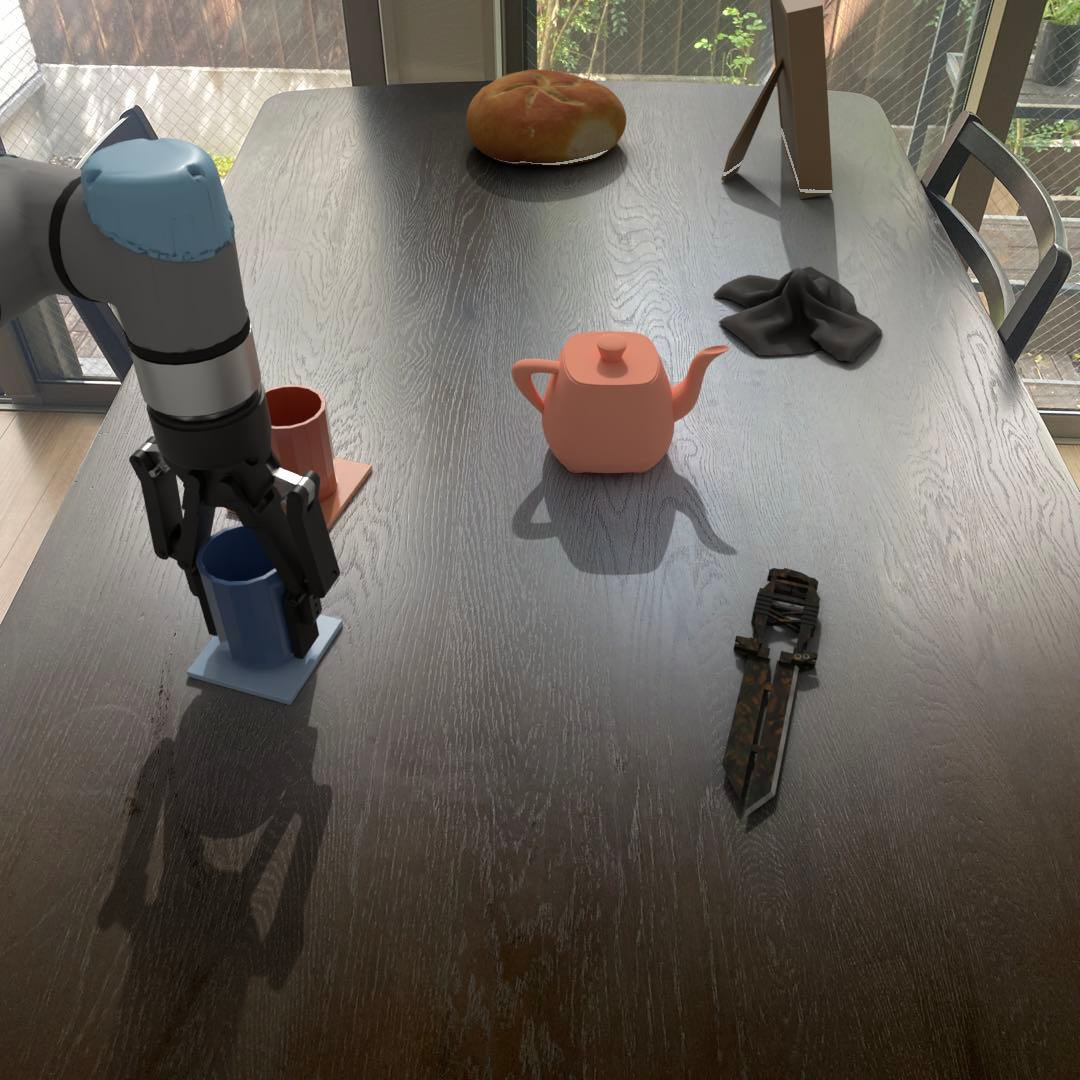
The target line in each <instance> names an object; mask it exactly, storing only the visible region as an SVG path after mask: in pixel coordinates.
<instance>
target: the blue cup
mask: <svg viewBox="0 0 1080 1080" xmlns="http://www.w3.org/2000/svg"><path fill="white" fill-rule="evenodd" d="M196 564H197V568H198V571H199V575H200V578H201V582H202V585H203V589H204V592H205V596H206V599H207V603H208V606H209V610H210V613H211V617H212V620H213V624H214V627H215V631H216V634H217V638H218V641H219V644H220V646H221V650H222V652H223V654H224V655H225V657H226V658H227V659H228V660H229V661H231V662H232V663H234V664H236V665H238V666H241V667H244V668H250V669H262V668H269V667H273V666H276V665H279V664H281V663H284V662H286V661H287V660H289V659H291V658H292V657H293V656H294V653H293V649H292V644H291V640H290V635H289V631H288V626H287V622H286V617H285V613H284V608H283V604H282V599H281V597H282V595H283V594H284V593H285V591H286V590H287V588H286V586H285V584H284V583H283V581H282V579H281V578H280V576H279V574H278V573H277V571H276V569H275V568H274V566H273V564H272V563H271V561H270V559H269V558H268V556H267V554H266V553H265V551H264V549H263V548H262V546H261V544H260V543H259V541H258V539H257V538H256V536H255V534H254V533H253V531H252V529H251V528H245V527H244V526H243V525H242V523H241V522H240V523H237V524H234V525H230V526H227V527H224V528H221V529H220V530H218V531H216V532H215V533H214V534H211V536H210V537H209V538H208V539H207V540H206V541H205V542H204V543H203V545H202V546H201V547H200V548H199V550H198V554H197V558H196Z"/></svg>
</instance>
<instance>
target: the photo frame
mask: <svg viewBox="0 0 1080 1080" xmlns="http://www.w3.org/2000/svg"><path fill="white" fill-rule="evenodd" d="M769 6H770V7H769V8H770V17H771V18H770V20H771V33H772V43H773V54H774V56H773V57H774V68H773V69H772V72H771V74H770V76H769V77H768V79H767V81H766V83H765V84H764V87H763V88H762V90H761V92H760V93H759V95H758V97H757V99H756V101H755V103H754V105H753V107H752V109H751V111H750V112H749V114H748V116H747V117H746V119H745V121H744V123H743V125H742V127H741V129H740V130H739V132H738V134H737V136H736V138H735V140H734V142H733V144H732V145H731V147H730V149H729V150H728V154H727V157H726V161H725V164H724V169H723V172H727V171H729V170H730V169H732V168H733V167H734V166H736V165H737V164H739V163H740V162H741V161H742V160H743V161H744V159H745V157H746V155H747V152H748V149H749V147H750V145H751V142H752V140H753V138H754V135H755V134H756V131H757V129H758V126H759V125H760V122H761V119H762V117H763V115H764V113H765V111H766V108H767V106H768V103H769V101H770V99H771V96H772V94H773V93H774V90H775V88H776V90H777V103H778V116H779V126H781V128H782V129H783V132H784V135H785V139H786V142H787V145H788V149H789V152H790V155H791V158H792V161H793V164H794V168H795V171H796V174H797V177H798V180H799V187H798V184H797V181H796V178H795V174H794V171H793V168H792V165H791V162H790V159H789V156H788V153H787V150H786V147H785V143H784V140H783V137H782V135H781V134H780V140H781V141H782V145H783V149H784V151H785V155H786V157H787V161H788V164H789V167H790V170H791V173H792V176H793V180H794V182H795V186H796V189H797V193H798V195H799V198H800V200H804V199H810V198H815V197H820V196H825V195H830V194H832V193H805V192H800V190H799V188H800V189H808V190H809V189H812V190H813V189H815V190H832V191H833V192H834V187H833V170H832V169H833V168H832V152H831V151H832V149H831V135H830V134H831V133H830V132H831V129H830V116H829V115H830V114H829V113H830V112H829V97H828V96H829V95H828V93H829V92H828V75H827V59H826V40H825V21H824V20H825V19H824V5H823V3H822V0H769ZM781 128H780V129H781ZM743 161H742V162H743ZM741 166H742V164H741V165H740V166H739V167H737V168H736V169H734V170H733V171H732V172H730V173H729V174H727V175H726V176H723V174H722V177H721V179H720V180H721V182H725V181H727V180H728V179H729V178H731V177H732V176H734V175H735V174H737V173H738V172H739V171H740V169H741Z"/></svg>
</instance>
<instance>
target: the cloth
mask: <svg viewBox="0 0 1080 1080" xmlns="http://www.w3.org/2000/svg"><path fill="white" fill-rule="evenodd" d="M712 296H714V297H715V298H721V299H727V300H731V301H734V303H737V304H739V305H742V306H744V307H746V308H747V309H744V310H742V311H739V312H736V313H733V314H731V315H727V316H725V317H723V318H722V319H720V320H719V321H718V323H719V324H720V325H722V326H723V327H724V328H725V329H727V330H728V331H730V332H731V333H732V334H733V335H735V336H736V337H737V338H738V339H740V340H741V341H742V342H743V343H745V344H746V345H747V347H749V348H750V350H752V351H753V352H754V353H755V354H756V355H758V356H761V357H785V356H786V357H788V356H797V355H798V356H799V355H805V354H810V353H814V352H817V351H819V350H821V349H823V350H824V351H825V352H827V353H828V354H830V355H831V356H833V357H834V358H835V359H836V360H837V361H841V362H850V363H853V362H854V361H855V359H856V358H857V357H859V355H860V354H861V353H862V352H863V351H864V350H865V349H866V348H867V347H868V346H869V345H870V344H871V342H873V341H874V340H875V339H876V338H877V337H879V336H880V335H882V333H883V329H882V328H881V327H880V326H879V325H878V324H877V322H875V321H874V320H872V319H871V318H869V317H868V316H865V315H864V314H862V313H860V312H859V311H858V309H857V305H856V301H855V296H854V294H852V292H851V291H850V290H849V289H848V288H847V287H846V286H844V285H843V284H842V283H840V282H838V281H837V280H836V279H834V278H832V277H831V276H828V275H826V274H825V273H823V272H821V271H820V270H817V269H816V268H814V267H812V266H806V267H804V268H800V267H797V266H796V267H794V268H793V269H792V270H791V271H789V272H787V273H785V274H784V275H782V277H780V279H776V278H772V277H767V276H762V275H758V274H757V275H755V274H747V275H742V276H740V277H736V278H734V279H732V280H730V281H728V282H726V283H724V284H722V285H721V286H720V287H719V288H718V289H717V290H716V291H715V292H714V293H713V295H712Z"/></svg>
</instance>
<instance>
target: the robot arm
mask: <svg viewBox="0 0 1080 1080" xmlns="http://www.w3.org/2000/svg"><path fill="white" fill-rule="evenodd" d="M235 234H236V231H235V222H234V217H233V213H232V212H231V210H230V208H229V205H228V202H227V199H226V194H225V192H224V187H223V185H222V181H221V176H220V173H219V170H218V167H217V164H216V162H215V161H214V159H213V158H212V156H211V155H210V154H209V153H208V152H207V151H206V150H205V149H203V148H202V147H200V146H199V145H198V144H194V143H192V142H189V141H187V140H183V139H179V138H171V137H160V138H157V139H147V138H143V137H142V138H141V137H140V138H133V139H128V140H122V141H120V142H119V141H118V142H116V143H113V144H110V145H107V146H105V147H103V148H101V149H99V150H97V151H95V152H94V153H92V154H91V155H90V156H89V157H88V158H87V159H86V160H85V162H84V164H83V166H82V168H80V169H79V168H74V167H69V166H65V165H59V164H53V163H49V162H44V161H39V160H33V159H29V158H25V157H23V156H17V155H15V154H12V153H6V154H2V153H0V329H1V328H3V327H4V326H6V325H7V324H9V323H10V322H12V321H14V320H15V319H17V318H18V317H19V316H21V315H22V314H24V313H26V312H27V311H28V310H30V309H31V308H32V307H34V306H35V305H37V304H38V303H40V302H41V301H43V300H44V299H45V298H47V297H50V296H53V295H57V296H58V295H59V296H64V297H69V298H75V299H78V300H79V299H80V300H83V301H89V302H94V303H100V304H101V303H103V304H104V303H105V304H109V305H112V306H114V307H115V308H116V310H117V313H118V317H119V320H120V322H121V326H122V329H123V333H124V336H125V340H126V343H127V346H128V349H129V352H130V357H131V361H132V363H133V367H134V371H135V375H136V378H137V383H138V385H139V389H140V393H141V396H142V398H143V401H144V403H146V412H147V415H148V418H149V422H150V425H151V426H150V427H151V429H152V433H153V435H151V436H149V438H147V439H146V440H145V441H144V442H143V443H142V444H141V445H140V446H139V447H138V448H137V449H136V450H135V451H134V452H133V453H132V454H131V455H130V456H129V458H128V461H129V464H130V465H131V467H132V469H133V471H134V473H135V475H136V476H137V479H138V480H139V482H140V487H141V492H142V497H143V501H144V506H145V512H146V517H147V522H148V528H149V531H150V537H151V543H152V547H153V552H154V554H155V556H156V557H157V558H159V559H161V560H163V561H166V560H168V559H169V558H170V559H172V560H175V561H176V563H177V565H178V567H179V568H180V569H181V570H182V571H184V575H185V578H186V581H187V585H188V588H189V592H190V593H191V594H192V596H193V597H196V598H198V599H197V600H199V605H200V608H201V612H202V615H203V618H204V623H205V625H206V629H207V633H208V635H210V636H212V637H213V636H217V634H216V631H215V627H214V624H213V620H212V617H211V613H210V610H209V606H208V603H207V599H206V596H205V592H204V589H203V585H202V582H201V578H200V575H199V571H198V568H197V564H196V558H197V554H198V550H199V548H200V547H201V546H202V545H203V543H204V542H205V541H206V540H207V539H208V538H209V537H210V536H212V533H213V526H214V520H215V515H216V508H223V509H226V510H227V509H229V510H231V511H233V512H235V513H236V514H235V513H234V514H235V515H236V517H237V518H238V520H239V522H240V523H242V525H243V526H244V527H245V528H251V529H252V531H253V533H254V534H255V536H256V538H257V539H258V541H259V543H260V544H261V546H262V548H263V549H264V551H265V553H266V554H267V556H268V558H269V559H270V561H271V563H272V564H273V566H274V568H275V569H276V571H277V573H278V574H279V576H280V578H281V579H282V581H283V583H284V584H285V586H286V588H287V590H286V591H285V593H284V594H283V595H282V597H281V599H282V604H283V608H284V613H285V617H286V622H287V626H288V631H289V635H290V640H291V644H292V649H293V653H294V657H296V658H299V659H304V657H305V656H306V654H307V653H308V651H309V650H310V648H311V647H312V645H313V644H314V642H315V641H316V639H317V638H318V636H319V631H318V626H317V621H316V620H317V618H318V617H319V615H320V614H321V615H322V611H323V606H322V602H321V599H324V598H325V597H326V596H327V594H328V593H329V591H330V590H331V589H332V587H333V586H334V584H335V582H337V580H338V578H339V577H340V575H341V570H340V567H339V563H338V560H337V556H336V553H335V550H334V546H333V544H332V540H331V536H330V533H329V530H328V529H327V526H326V522H325V519H324V516H323V512H322V509H321V505H320V502H319V499H318V496H319V488H320V477H319V475H318V474H317V473H316V472H314V471H311V470H307V471H306V472H305V473H304V474H303V475H302V476H299V475H297V474H294V473H292V472H290V471H287V470H285V469H282V466H281V463H280V461H279V460H278V458H277V457H276V455H275V454H274V452H273V450H272V448H271V434H272V424H271V419H270V414H269V409H268V404H267V399H266V394H265V390H266V389H265V385H264V384H263V382H262V372H261V367H260V361H259V357H258V351H257V346H256V343H255V338H254V332H253V328H252V323H251V318H250V311H249V309H248V307H247V305H246V300H245V299H246V298H245V293H244V287H243V282H242V275H241V268H240V262H239V261H240V260H239V255H238V249H237V248H238V247H237V243H236V235H235ZM178 479H179V480H180V481H181V482H182V486H183V495H182V501H181V497H180V491H179V485H178V484H179V483H178ZM277 489H278V490H279V491H280V493H281V495H280V493H279V491H278V490H277ZM281 505H282V506H283V507H286V514H287V516H286V514H285V512H284V510H283V509H282V507H281ZM183 511H184V512H183Z"/></svg>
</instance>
